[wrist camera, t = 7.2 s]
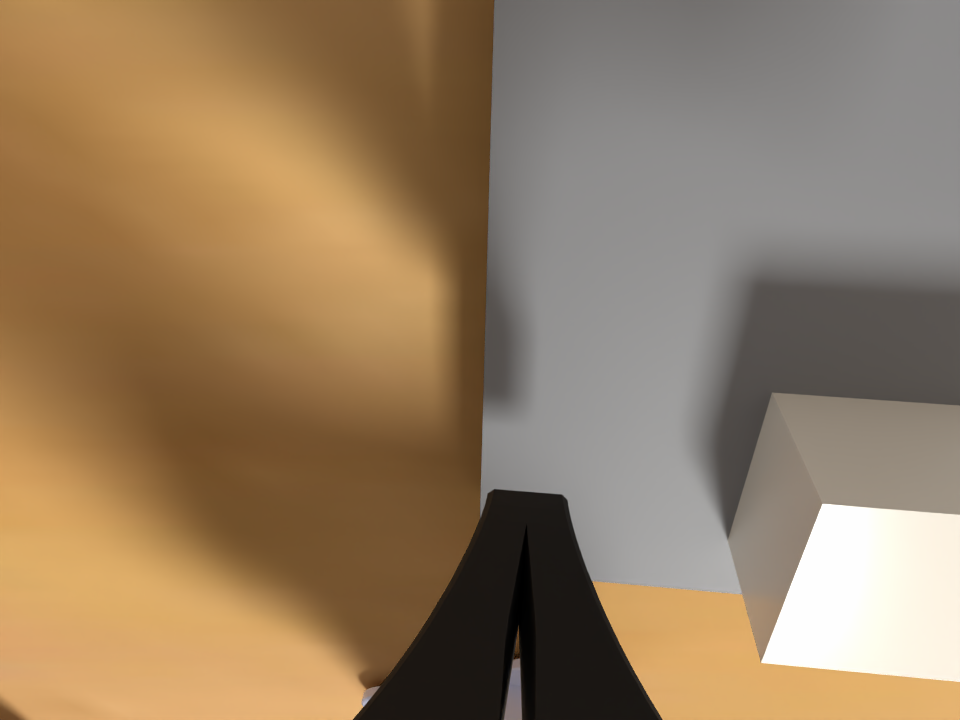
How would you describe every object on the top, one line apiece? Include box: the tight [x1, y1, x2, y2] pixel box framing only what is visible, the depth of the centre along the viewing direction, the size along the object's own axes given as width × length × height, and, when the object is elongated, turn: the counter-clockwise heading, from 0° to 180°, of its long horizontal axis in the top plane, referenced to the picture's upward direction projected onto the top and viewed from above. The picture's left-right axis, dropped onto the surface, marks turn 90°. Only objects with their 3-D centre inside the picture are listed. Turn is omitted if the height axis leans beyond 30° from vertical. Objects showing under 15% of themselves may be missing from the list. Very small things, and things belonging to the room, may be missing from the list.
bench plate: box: [480, 0, 960, 594], centre depth 14 cm, size 12×13×2 cm
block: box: [728, 393, 960, 682], centre depth 13 cm, size 4×4×3 cm
